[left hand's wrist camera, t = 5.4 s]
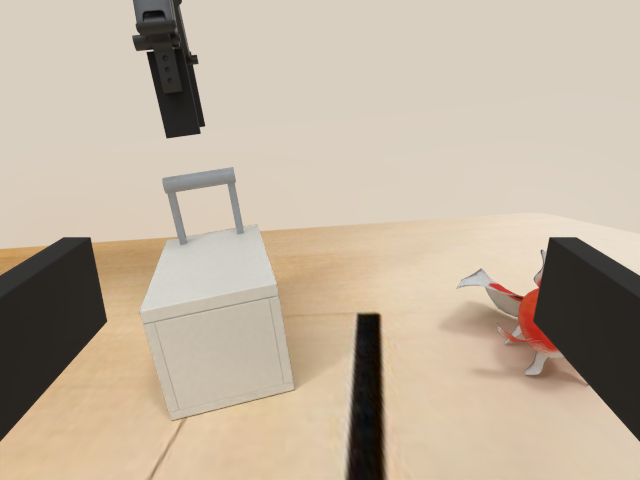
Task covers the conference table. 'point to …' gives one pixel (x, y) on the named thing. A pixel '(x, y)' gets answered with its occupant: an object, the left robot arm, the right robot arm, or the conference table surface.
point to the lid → (207, 260)
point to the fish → (518, 315)
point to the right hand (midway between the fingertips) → (189, 131)
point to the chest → (221, 356)
